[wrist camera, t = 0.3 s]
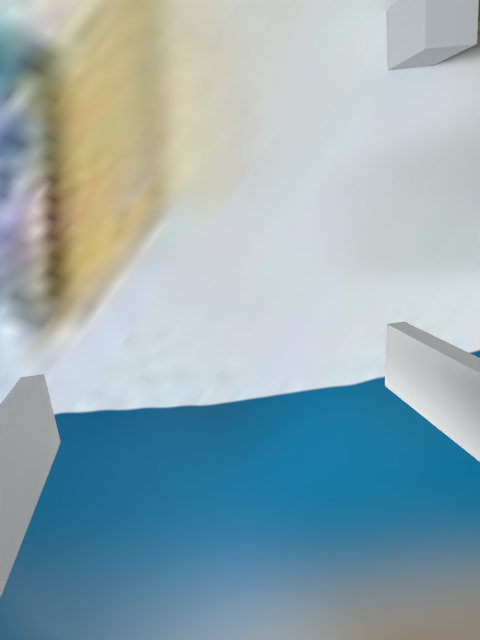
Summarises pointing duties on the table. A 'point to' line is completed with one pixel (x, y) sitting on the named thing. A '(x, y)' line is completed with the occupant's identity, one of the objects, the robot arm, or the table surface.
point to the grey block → (429, 31)
